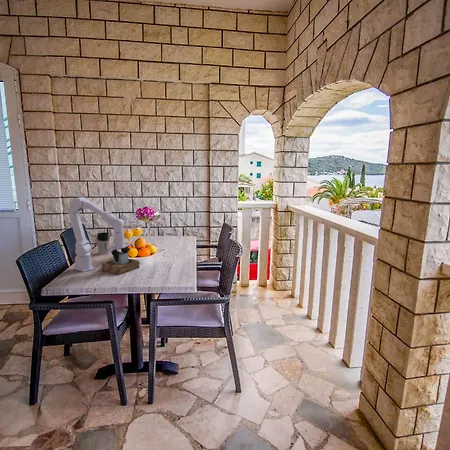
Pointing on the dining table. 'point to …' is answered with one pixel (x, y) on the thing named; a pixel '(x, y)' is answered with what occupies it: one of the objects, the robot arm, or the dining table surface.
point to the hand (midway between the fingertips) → (120, 260)
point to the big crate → (120, 266)
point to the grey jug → (103, 243)
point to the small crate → (122, 259)
